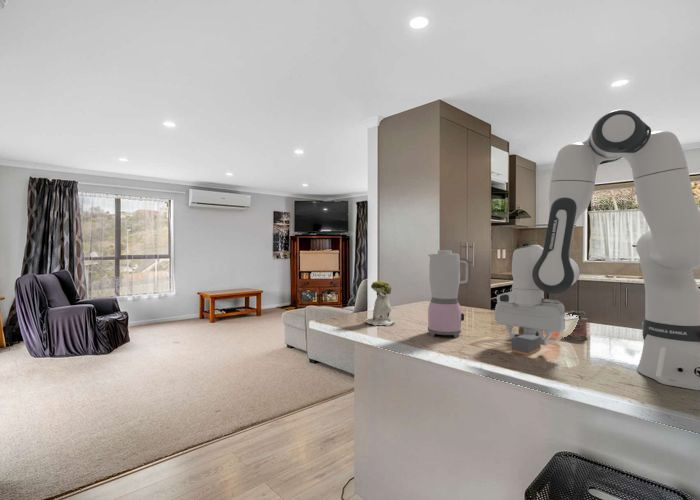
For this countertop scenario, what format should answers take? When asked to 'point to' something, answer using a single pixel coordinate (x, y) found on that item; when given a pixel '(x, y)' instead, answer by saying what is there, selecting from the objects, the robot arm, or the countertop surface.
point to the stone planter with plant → (381, 304)
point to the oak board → (503, 346)
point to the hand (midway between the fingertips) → (528, 342)
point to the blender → (446, 293)
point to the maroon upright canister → (578, 327)
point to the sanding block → (526, 344)
